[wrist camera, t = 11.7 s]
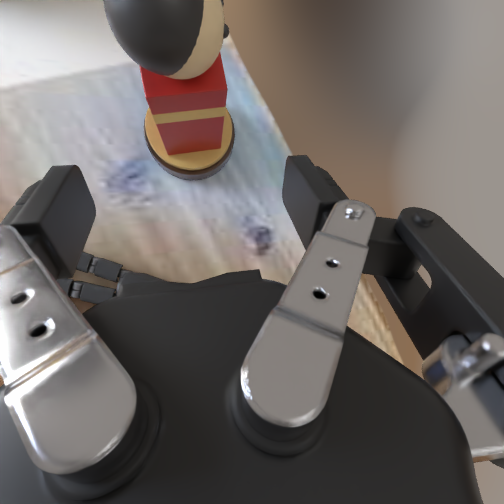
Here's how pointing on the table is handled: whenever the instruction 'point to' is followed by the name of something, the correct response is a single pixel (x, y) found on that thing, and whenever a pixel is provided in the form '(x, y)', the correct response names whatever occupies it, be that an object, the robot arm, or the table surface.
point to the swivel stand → (193, 173)
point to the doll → (178, 75)
